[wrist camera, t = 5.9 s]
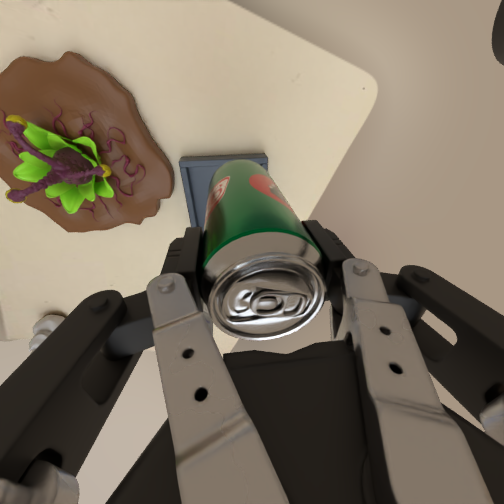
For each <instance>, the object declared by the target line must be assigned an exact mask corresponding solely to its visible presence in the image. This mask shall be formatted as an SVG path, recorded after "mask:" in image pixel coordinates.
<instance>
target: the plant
mask: <svg viewBox="0 0 504 504" xmlns="http://www.w3.org/2000/svg"><path fill="white" fill-rule="evenodd" d="M0 177H1V178H2V179H3V180H4V181H5V182H6V183H7V184H8V185H9V187H10V188H11V189H10V190H8V191H6V193H5V195H6V198H7V199H9V201H11V202H13V203H22V202H24V203H25V204H27V205H29V206H31V207H33V208H35V209H37V210H40V211H41V212H43V213H45V214H46V215H47V216H48V217H49V218H51V219H52V220H53V221H54V222H56V223H57V224H58V225H60V226H61V227H62V228H63V229H65V230H66V231H67V232H88V231H94V230H108V229H111V228H114V227H117V226H119V225H122V224H124V223H134V224H138V225H140V224H141V223H142V221H143V220H144V218H146V217H153V216H155V215H156V214H157V212H158V210H159V208H160V199H165V198H170V197H171V195H172V192H173V187H174V173H173V169H172V167H171V164H170V163H169V161H168V159H167V158H166V156H165V155H164V154H163V152H162V151H161V150H160V149H159V147H158V146H157V145H156V144H155V142H154V141H153V139H152V138H151V136H150V134H149V132H148V130H147V129H146V127H145V125H144V123H143V121H142V119H141V118H140V116H139V114H138V111H137V109H136V106H135V101H134V99H133V97H132V95H131V94H130V92H128V91H127V90H125V89H124V88H123V87H122V86H121V85H120V84H119V83H118V82H117V81H116V80H115V79H114V78H113V77H112V76H111V75H110V74H109V73H107V72H106V71H104V70H102V69H100V68H97V67H95V66H94V65H92V64H91V63H90V62H88V61H87V60H86V59H84V58H83V57H82V56H81V55H80V54H77V53H73V52H70V51H67V52H65V53H64V54H63V56H62V57H61V58H60V59H59V60H57V61H54V62H44V61H41V60H39V59H35V58H30V57H25V56H23V57H19V58H17V59H15V60H14V61H13V62H12V63H11V64H10V65H9V66H8V67H7V68H6V69H5V70H4V71H3V72H2V73H1V74H0Z"/></svg>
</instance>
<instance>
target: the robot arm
mask: <svg viewBox="0 0 504 504" xmlns="http://www.w3.org/2000/svg"><path fill="white" fill-rule="evenodd" d="M301 223H302V225H303V226H304V228H305V229H306V231H307V232H308V234H309V235H310V237H311V238H312V240H313V241H314V243H315V244H316V246H317V247H318V249H319V250H320V252H321V254H322V256H323V259H324V263H325V278H324V280H325V283H326V299H325V301H328V300H330V302H331V307H330V329H331V341H328V342H319V343H314V344H312V345H309V346H307V347H304V348H302V349H299V350H297V351H295V352H292V353H289V354H279V353H272V352H264V351H257V350H252V351H243V352H234V353H225V354H223V359H222V356H221V354H220V352H219V349H218V347H217V345H216V343H215V340H214V338H213V336H212V334H211V331H210V329H209V327H208V325H207V322H206V320H205V318H204V316H203V314H202V312H203V305H204V301H203V300H202V298H201V295H200V291H199V285H198V280H199V271H200V261H201V252H202V243H203V230H202V227H189V228H186V231H185V235H184V238H176V239H175V240H174V241H173V242H172V243H171V244H170V246H169V249H168V252H167V255H166V259H165V262H164V265H163V268H162V271H161V274H160V275H159V276H157V277H155V278H154V279H152V280H151V281H150V282H149V284H148V285H147V288H146V291H143V292H141V293H138V294H135V295H132V296H128V297H125V298H123V297H122V295H121V294H120V292H118V291H115V290H105V291H100V292H97V293H95V294H93V295H91V296H89V297H87V298H86V299H84V300H83V301H82V302H81V303H80V304H79V305H78V306H77V307H76V308H75V309H74V310H73V311H72V312H71V313H70V314H69V315H68V316H67V317H66V318H65V319H64V320H63V322H62V323H61V324H60V325H59V326H58V327H57V328H56V329H55V330H54V331H53V332H52V333H51V334H50V335H49V336H48V337H47V338H46V339H45V340H44V341H43V342H42V343H41V344H40V345H39V346H38V347H37V348H36V349H35V350H34V351H33V353H32V354H31V355H30V356H29V357H28V358H27V359H26V360H25V361H24V362H23V363H22V364H21V365H20V366H19V367H18V368H17V369H16V370H15V371H14V372H13V373H12V374H11V375H10V376H9V377H8V379H6V380H5V382H4V383H3V384H2V385H1V386H0V504H78V499H79V484H78V482H77V479H76V478H75V477H76V476H77V474H78V472H79V470H80V468H81V466H82V464H83V463H84V461H85V459H86V457H87V455H88V453H89V451H90V449H91V448H92V446H93V444H94V442H95V440H96V438H97V436H98V435H99V433H100V431H101V429H102V427H103V425H104V423H105V422H106V419H107V418H108V416H109V414H110V412H111V410H112V408H113V407H114V405H115V403H116V401H117V399H118V397H119V395H120V394H121V392H122V390H123V388H124V386H125V384H126V382H127V381H128V379H129V377H130V375H131V373H132V371H133V369H134V367H135V366H136V364H137V362H138V360H139V358H140V356H141V354H142V352H143V350H145V349H148V348H150V347H153V346H155V350H156V355H157V361H158V366H159V371H160V376H161V382H162V387H163V392H164V397H165V403H166V408H167V413H168V418H167V420H166V421H165V422H164V424H163V425H162V426H161V428H160V429H159V431H158V432H157V433H156V435H155V436H154V438H153V439H152V440H151V442H150V443H149V445H148V446H147V447H146V449H145V450H144V451H143V453H142V454H141V456H140V457H139V458H138V460H137V461H136V462H135V464H134V465H133V466H132V468H131V469H130V471H129V472H128V473H127V475H126V476H125V477H124V479H123V480H122V481H121V483H120V484H119V486H118V487H117V488H116V490H115V491H114V492H113V494H112V495H111V496H110V498H109V499H108V501H107V502H106V503H105V504H504V316H503V315H501V314H499V313H498V312H497V311H495V310H493V309H492V308H490V307H489V306H487V305H485V304H484V303H482V302H480V301H479V300H477V299H476V298H474V297H473V296H471V295H469V294H468V293H466V292H465V291H463V290H461V289H460V288H458V287H456V286H455V285H453V284H452V283H450V282H448V281H447V280H445V279H444V278H442V277H440V276H439V275H437V274H436V273H434V272H432V271H431V270H428V269H426V268H423V267H420V266H415V265H407V266H404V267H402V268H401V270H400V272H399V274H398V275H397V274H388V273H382V272H379V270H378V268H377V267H376V266H375V265H374V264H372V263H370V262H368V261H366V260H362V259H357V258H355V257H354V256H353V254H351V252H350V251H349V250H348V249H347V247H346V246H345V245H343V243H342V242H341V240H339V238H338V237H337V236H336V235H335V233H333V232H331V231H330V230H328V229H323V228H322V226H321V225H320V224H319V223H318V221H317V220H308V221H301ZM426 310H429V311H430V312H431V313H432V314H434V315H435V316H436V317H437V318H439V319H440V320H441V321H443V322H444V323H445V324H447V325H448V326H449V327H450V328H452V329H453V331H454V332H455V333H456V335H457V343H456V344H455V345H454V346H453V345H452V344H451V343H450V342H448V341H447V340H446V339H445V338H443V337H442V336H441V335H440V334H439V333H437V332H436V331H435V330H434V329H433V328H431V327H430V326H429V325H428V324H427V323H425V322H424V321H423V320H422V319H421V317H422V315H423V314H424V312H425V311H426ZM429 373H431V374H432V375H433V377H434V378H436V379H437V380H438V382H440V384H442V386H444V388H446V390H448V392H450V393H451V395H452V396H454V398H455V399H456V400H458V401H459V403H460V404H462V405H463V406H464V407H465V408H466V409H467V410H468V411H469V412H470V413H471V414H472V415H473V416H474V417H475V418H476V419H477V420H478V421H479V422H480V423H481V424H482V426H483V428H484V430H485V432H483V431H481V430H480V429H478V428H477V427H476V426H474V425H473V424H471V423H470V422H468V421H467V420H465V419H464V418H463V417H461V416H460V415H458V414H457V413H455V412H454V411H452V410H451V409H450V408H448V407H446V406H445V405H444V404H442V403H441V402H440V400H439V397H438V395H437V392H436V390H435V387H434V385H433V382H432V379H431V377H430V374H429Z"/></svg>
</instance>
